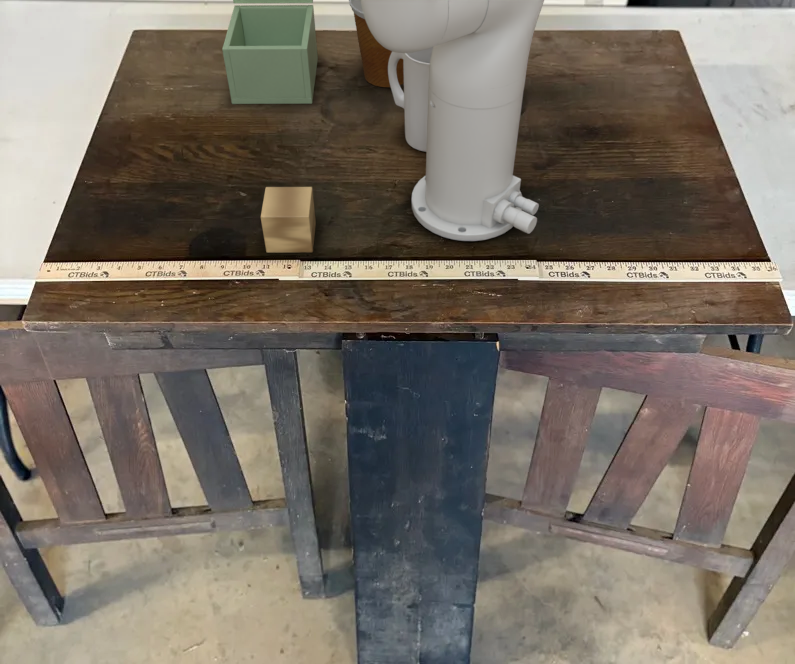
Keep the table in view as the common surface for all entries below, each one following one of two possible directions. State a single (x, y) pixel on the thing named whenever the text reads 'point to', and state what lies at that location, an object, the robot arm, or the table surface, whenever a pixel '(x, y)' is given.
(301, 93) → the chest
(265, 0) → the lid
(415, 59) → the mug
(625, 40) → the table surface
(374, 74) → the disposable coffee cup
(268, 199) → the block
